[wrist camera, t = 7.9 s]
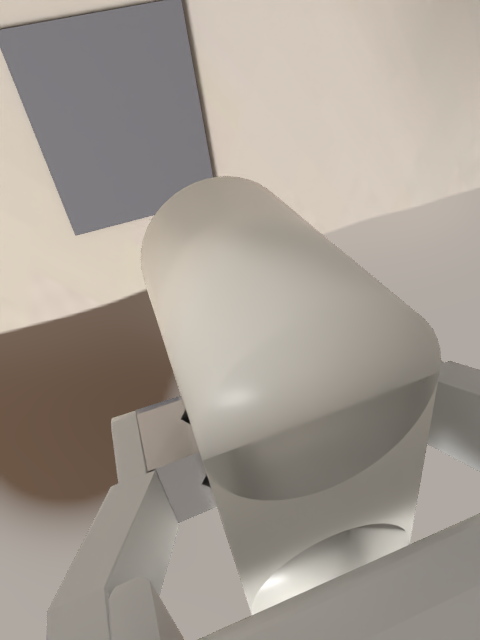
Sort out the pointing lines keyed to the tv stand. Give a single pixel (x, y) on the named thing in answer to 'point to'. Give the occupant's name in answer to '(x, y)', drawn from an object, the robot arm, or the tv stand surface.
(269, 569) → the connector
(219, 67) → the tv stand surface
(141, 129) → the mat
